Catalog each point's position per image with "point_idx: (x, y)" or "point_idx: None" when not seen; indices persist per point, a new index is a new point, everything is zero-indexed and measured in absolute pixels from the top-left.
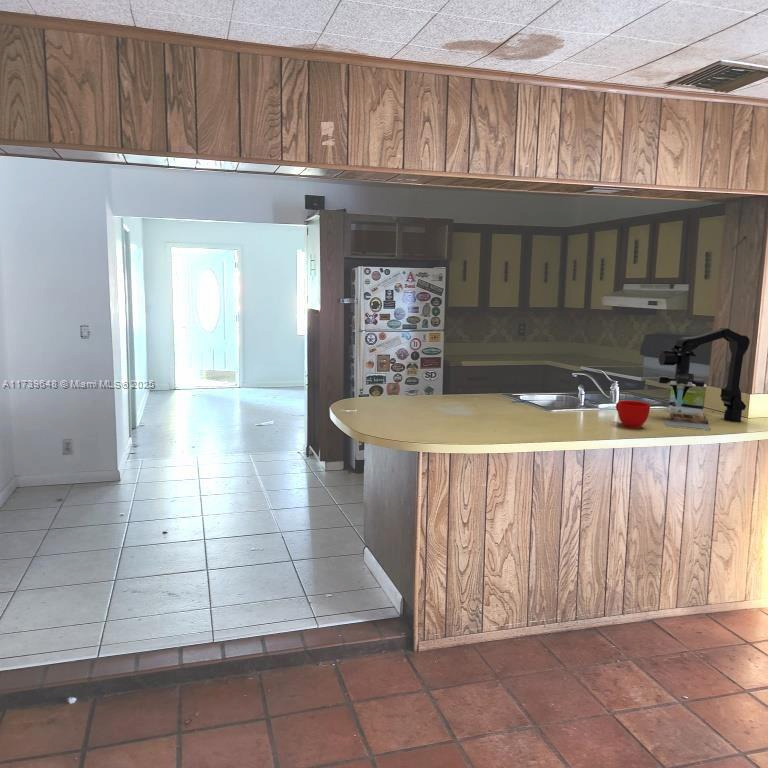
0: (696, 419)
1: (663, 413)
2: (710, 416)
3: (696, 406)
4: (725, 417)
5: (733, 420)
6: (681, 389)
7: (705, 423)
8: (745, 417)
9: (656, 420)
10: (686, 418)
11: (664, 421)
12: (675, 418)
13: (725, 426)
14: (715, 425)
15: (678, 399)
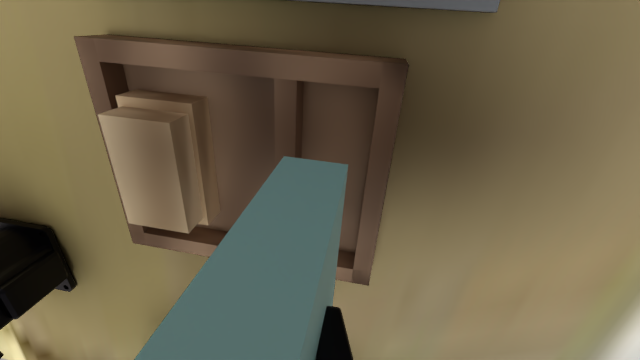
0: (176, 101)
1: (386, 346)
2: (144, 330)
3: None
4: (39, 260)
5: (5, 231)
6: None
7: (111, 36)
8: (23, 342)
9: (552, 70)
10: None
11: None
12: (366, 59)
13: (8, 77)
14: (67, 82)
15: (307, 223)
